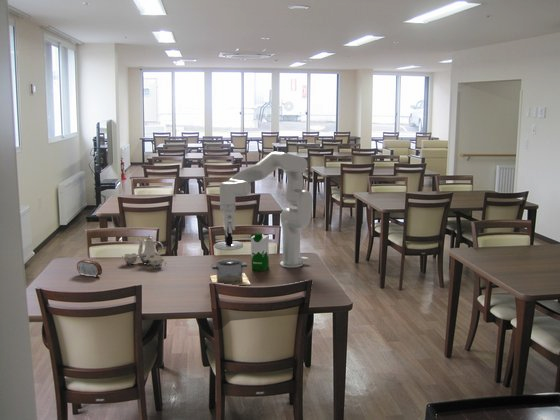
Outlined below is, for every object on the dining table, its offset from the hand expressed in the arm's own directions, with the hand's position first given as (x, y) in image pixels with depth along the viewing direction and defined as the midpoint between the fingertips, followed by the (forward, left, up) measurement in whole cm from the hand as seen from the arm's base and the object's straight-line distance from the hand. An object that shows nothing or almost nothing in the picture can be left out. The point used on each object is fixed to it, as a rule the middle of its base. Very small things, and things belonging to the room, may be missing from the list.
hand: (228, 243), depth 288 cm
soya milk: (-19, -17, -20) cm, 32 cm away
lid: (0, 0, -2) cm, 2 cm away
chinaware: (+40, -42, -20) cm, 62 cm away
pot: (0, 0, -20) cm, 20 cm away
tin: (+70, -27, -20) cm, 78 cm away
